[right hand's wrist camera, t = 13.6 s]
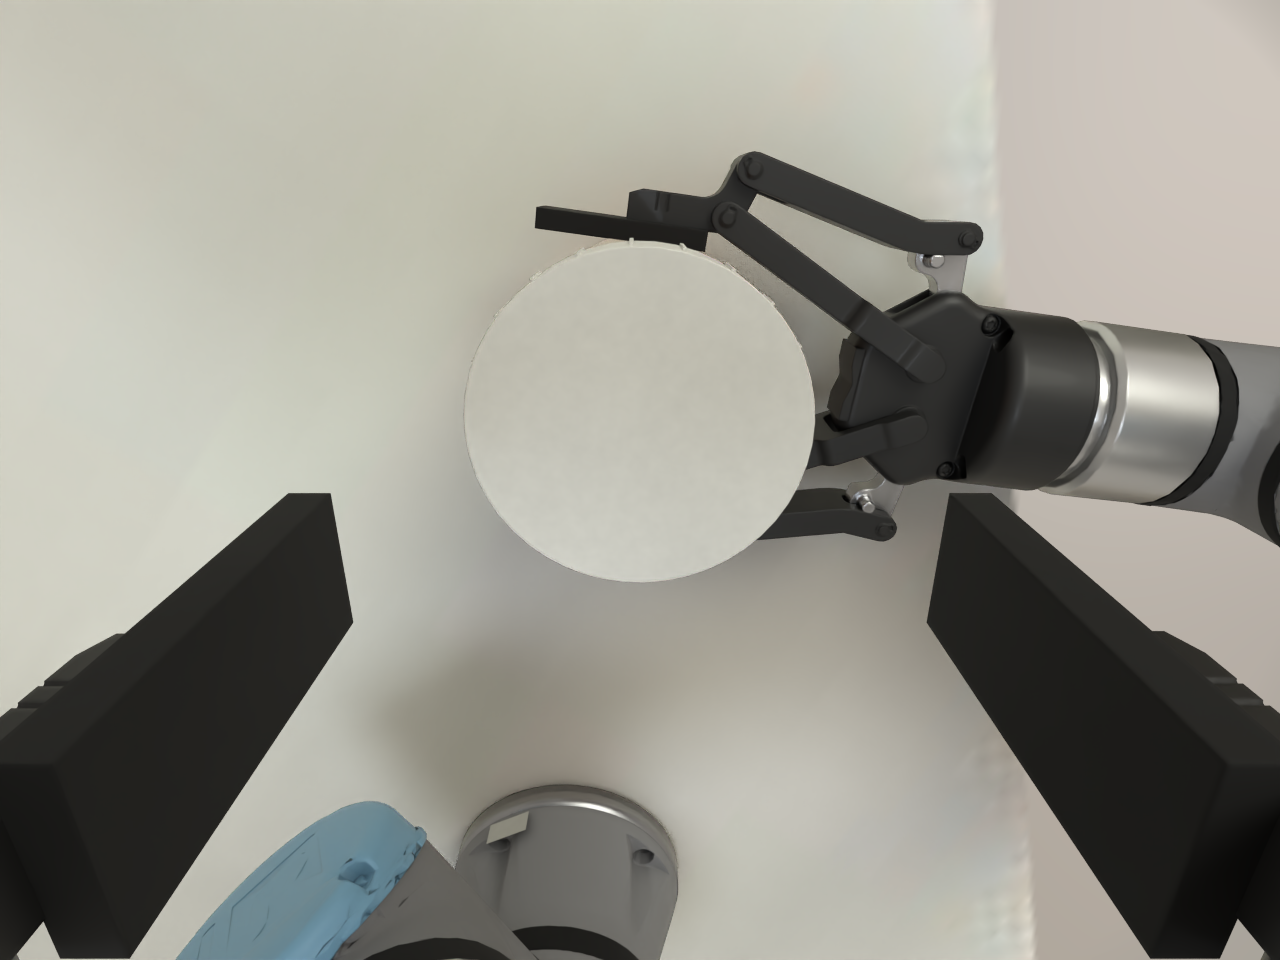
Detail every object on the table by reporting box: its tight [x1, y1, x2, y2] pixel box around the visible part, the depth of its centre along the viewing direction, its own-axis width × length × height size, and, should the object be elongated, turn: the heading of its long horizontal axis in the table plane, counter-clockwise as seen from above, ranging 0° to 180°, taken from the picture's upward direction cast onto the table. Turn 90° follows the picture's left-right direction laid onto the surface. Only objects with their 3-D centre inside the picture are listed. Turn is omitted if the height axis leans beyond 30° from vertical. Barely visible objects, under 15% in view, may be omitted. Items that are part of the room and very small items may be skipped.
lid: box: [464, 238, 815, 583], centre depth 21 cm, size 10×10×2 cm
